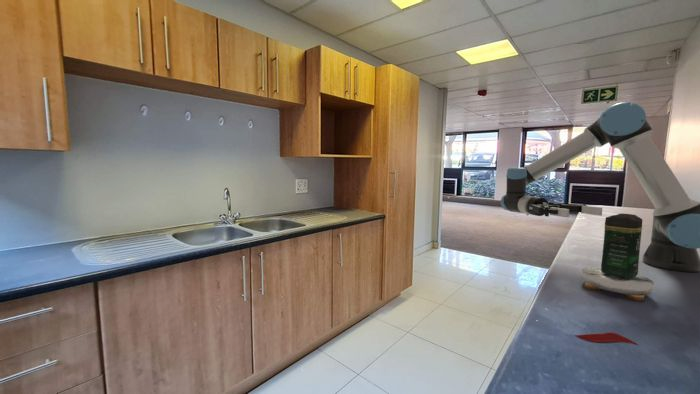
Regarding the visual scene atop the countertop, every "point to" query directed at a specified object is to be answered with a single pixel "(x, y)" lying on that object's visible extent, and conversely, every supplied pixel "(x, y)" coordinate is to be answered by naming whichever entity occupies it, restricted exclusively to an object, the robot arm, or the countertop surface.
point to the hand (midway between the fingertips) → (585, 212)
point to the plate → (617, 283)
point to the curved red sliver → (605, 338)
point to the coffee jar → (621, 245)
